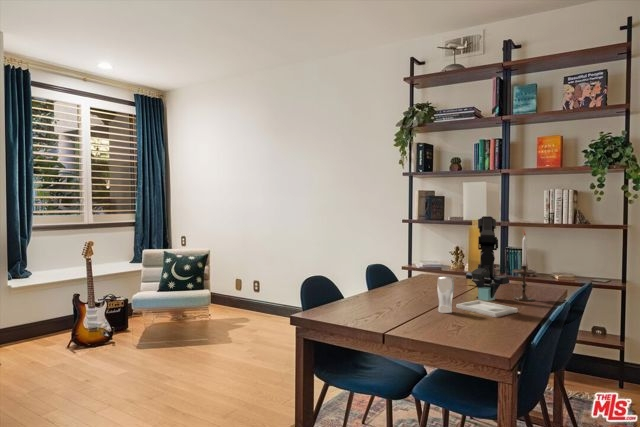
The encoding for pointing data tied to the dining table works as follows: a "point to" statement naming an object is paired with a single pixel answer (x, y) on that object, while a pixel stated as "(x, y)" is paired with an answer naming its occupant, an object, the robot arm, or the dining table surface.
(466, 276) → the robot arm
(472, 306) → the tray
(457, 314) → the dining table surface
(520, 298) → the candlestick
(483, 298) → the block
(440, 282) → the beer glass
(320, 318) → the dining table surface
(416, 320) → the dining table surface
